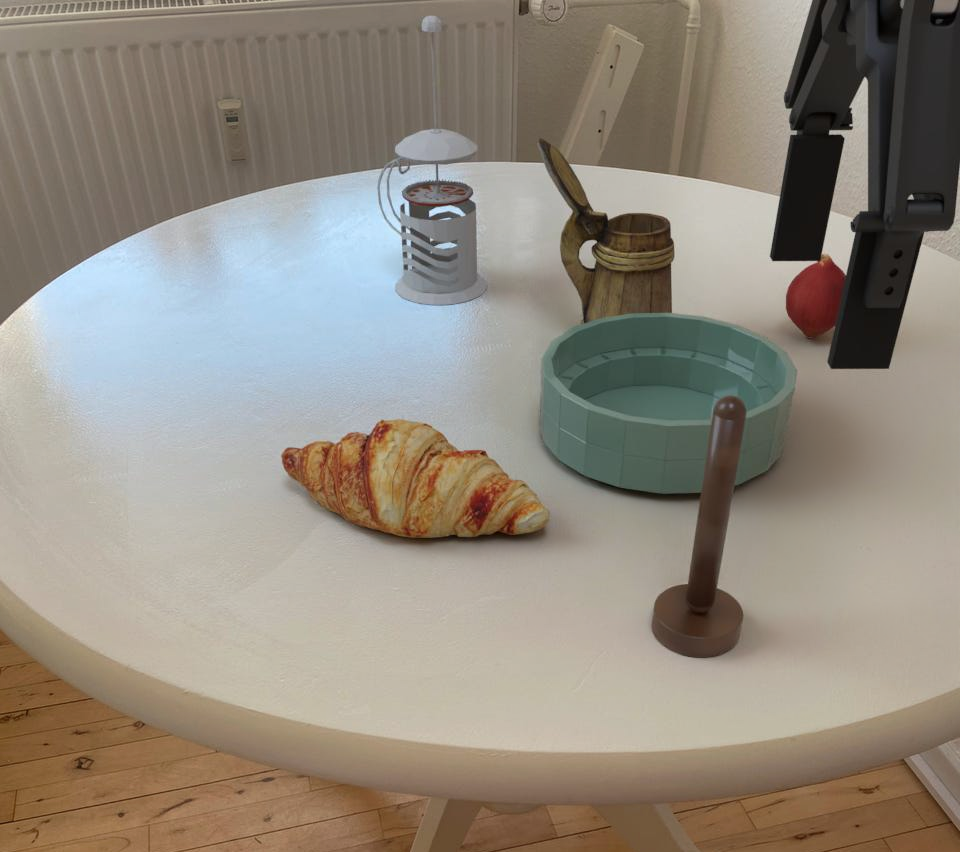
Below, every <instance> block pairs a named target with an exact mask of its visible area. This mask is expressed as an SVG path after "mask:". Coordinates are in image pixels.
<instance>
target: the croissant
mask: <svg viewBox="0 0 960 852" xmlns="http://www.w3.org/2000/svg"><path fill="white" fill-rule="evenodd" d="M280 457H281V463H282V466H283V469H284V471H285V472H286V473H287V475H288V477H289V478H291V479H292V480H294V481H295V482H297V483H299V484H300V485H301V486H302V487H303V488H305V489H306V491H307V492H308V493H309V495H310V496H311V498H312V499H313V500H314V502H317V503H318V504H319V505H320V507H323V508H325V509H327V510H328V511H329V512H333V513H336V514H338V515H340V516H341V517H342V518H343V519H345V520H346V521H348V522H350V523H352V524H355V525H357V526H360V527H363V528H367V529H368V528H369V529H371V530H379V531H381V532H384V533H388V534H392V535H394V536H397V537H404V538H413V539H414V538H415V539H416V538H418V539H419V538H420V539H421V538H422V539H423V538H424V539H425V538H427V539H429V538H430V539H432V538H443V537H445V538H446V537H449V536H453V535H454V536H457V537H458V538H459V537H460V538H475V537H479V536H480V535H493V534H494V533H496V532H501V533H503V534H507V535H510V536H515V535H516V536H517V535H524V534H530V533H534V532H537V531H539V530H541V529H543V528H544V527H546V526H547V525H548V523H549V522H550V510H549V508H547V507H546V506H544V505H543V503H542V501H541V499H540V498H538V497H537V494H536V493H535V492H534V491H533V489H531V488H530V487H529V485H528V484H527V483H526V482H525V481H523V480H520V479H512V478H510V477H509V474H508V473H507V472H505V471H504V469H503V468H502V467H501V466H500V464H499V463H498V462H497V461H496V459H493V458H491V457H489V455H488V454H487V451H486V450H484V449H467V450H459V449H458V448H457V447H456V446H455V445H453V444H452V443H450V442H449V441H448V439H447V437H446V436H445V435H444V434H443V433H442V432H440V431H439V430H438V429H436V428H433V426H432V425H430V424H429V423H428V424H427V423H425V422H419V421H412V420H406V419H389V420H387V419H386V420H384V419H381V420H380V421H377V422H376V424H375V426H374V427H373V429H372V430H371V432H370V433H369V434H367V433H363V432H358V431H356V432H355V431H353V432H348V433H347V434H346V435H344V436H343V437H342V438H341V439H340V441H338V442H336V443H334V442H332V441H329V440H325V441H323V440H322V441H314V442H311V443H309V444H306V445H305V446H303V447H302V448H300V447H294V446H292V447H291V446H290V447H286V448H285V449H284V451H283V452H282V453H281V455H280Z"/></svg>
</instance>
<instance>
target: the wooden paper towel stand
mask: <svg viewBox="0 0 960 852" xmlns="http://www.w3.org/2000/svg"><path fill="white" fill-rule="evenodd" d="M746 413H747V409H746V406H745V403H744V402H743V401H742V400H741V399H740V398H739V397H736V396H732V395H730V396H725V397H723V398H721V399H720V400H718V402H717V403H716V404H715V406H714V409H713V416H712V423H711V429H710V436H709V443H708V450H707V457H706V463H705V470H704V477H703V484H702V491H701V493H700V498H699V505H698V510H697V520H696V525H695V526H696V527H695V532H694V539H693V546H692V552H691V559H690V565H689V572H688V573H689V574H688V579H687V583H683V584H678V585H674V586H671V587H668V588H666V589H665V590H664V591H662V592H661V593H660V594H659V595H658V596H657V597H656V599H655V601H654V603H653V612H652V618H651V619H652V620H651V630H652V633H653V635H654V637H655V638H656V640H657V641H658V642H659V643H660V644H661V645H662V646H663V647H665V648H666V649H668V650H670V651H671V652H673V653H676V654H679V655H682V656H686V657H692V658H711V657H717V656H720V655H723V654H726V653H727V652H729V651H730V650H732V649H733V648H734V647H735V646H736V645H737V643H738V642H739V640H740V636H741V631H742V626H743V621H744V611H743V608H742V606H741V604H740V603H739V601H738V600H737V599H736V598H735V597H734V596H732V595H731V594H730V593H729V592H727V591H725V590H723V589H720V588H719V587H718V585H719V579H720V573H721V568H722V561H723V555H724V549H725V543H726V537H727V532H728V531H727V530H728V525H729V520H730V514H731V507H732V503H733V497H734V496H733V495H734V490H735V486H736V485H735V479H736V473H737V467H738V461H739V455H740V449H741V443H742V438H743V432H744V426H745V420H746ZM734 485H735V486H734Z"/></svg>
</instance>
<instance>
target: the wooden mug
mask: <svg viewBox="0 0 960 852" xmlns="http://www.w3.org/2000/svg"><path fill="white" fill-rule="evenodd" d="M537 148H538V150H539V153H540V156H541V159H542V161H543V164H544V167H545V170H546V171H547V173H548V176H549V178H550V179H551V181H552V182H553V184H554V186H555V187H556V189H557V190H558V192H559V194H560V195H561V197H562V198H563V200H564V201H565V204H566V205H567V206H568V207H569V208H570V209H571V210H572V213H571V215H570V216H569V217H568V219H567V221H565V224H564V226H563V229H562V231H561V234H560V243H559V252H560V258H561V263H562V265H563V267H564V270H565V271H566V274H567V275H568V278H569V279H570V281H571V283H572V285H573V286H574V288H575V290H576V292H577V294H578V296H579V298H580V301H581V309H582V310H581V311H582V313H581V314H582V319H581V320H580V323H579V325H582V324H585V323H587V322H590V321H593V320H596V319H600V318H606V317H612V316H619V315H625V314H631V313H673V297H672V296H673V295H672V290H673V289H672V288H673V287H672V263H673V262H674V260H675V242H674V239H673V238H672V228H671V227H672V226H671V222H670V219H668V218H667V217H665V216H662V215H660V214H659V215H658V214H653V213H649V212H628V213H623V214H619V215H616V216H613V217H611V218H609V216H608V214H607V213H606V212H602V211H595V210H594V208H593V207H592V206H591V204H590V202H589V200H588V199H589V198H588V197H587V195H586V191H585V190H584V188H583V186H582V183H581V182H580V180H579V178H578V176H577V175H576V173H575V171H574V170H573V167H571V165H570V163H569V162H568V161H567V159H566V158H565V156H564V155H563V154H562V153H561V151H560V150H559V149H558V148H557V147H555V146H554V145H553V144H552V143H549V142H548V141H547V140H545V139H544V138H542V137H540V138H539V139H538V141H537ZM589 241H595V242H596V243H594V244H592V246H591V255H592V256H593V258H594V259H595V263H594V266H593V267H587V266H585V265H583V263H582V260H581V259H580V250H581V248H582V247H583V245H584V244H585V243H586V242H589Z"/></svg>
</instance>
